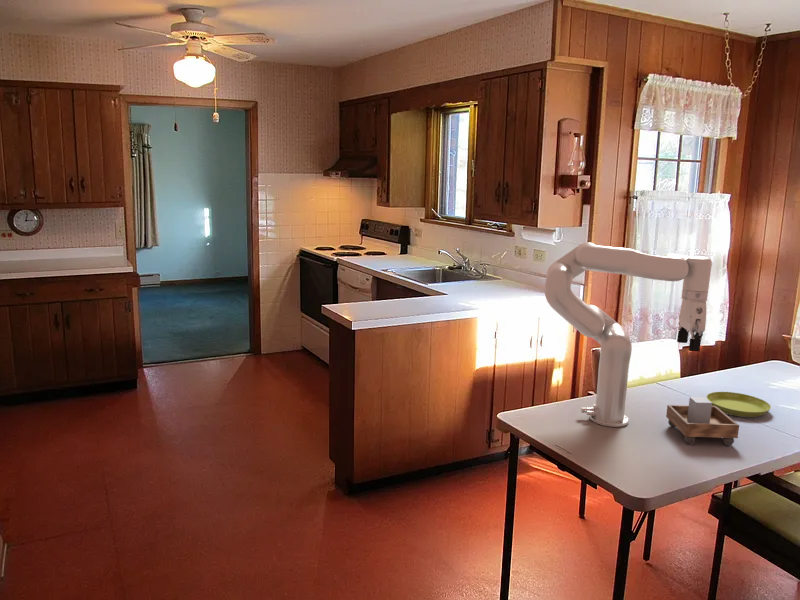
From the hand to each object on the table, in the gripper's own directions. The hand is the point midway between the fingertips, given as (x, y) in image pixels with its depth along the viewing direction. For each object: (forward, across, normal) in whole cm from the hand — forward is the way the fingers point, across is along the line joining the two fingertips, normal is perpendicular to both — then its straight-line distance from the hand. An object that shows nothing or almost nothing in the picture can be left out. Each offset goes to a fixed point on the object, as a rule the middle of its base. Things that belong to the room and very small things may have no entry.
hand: (687, 346), depth 210 cm
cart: (+28, -7, -4) cm, 29 cm away
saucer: (+28, +19, -28) cm, 44 cm away
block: (+24, -7, -4) cm, 25 cm away
